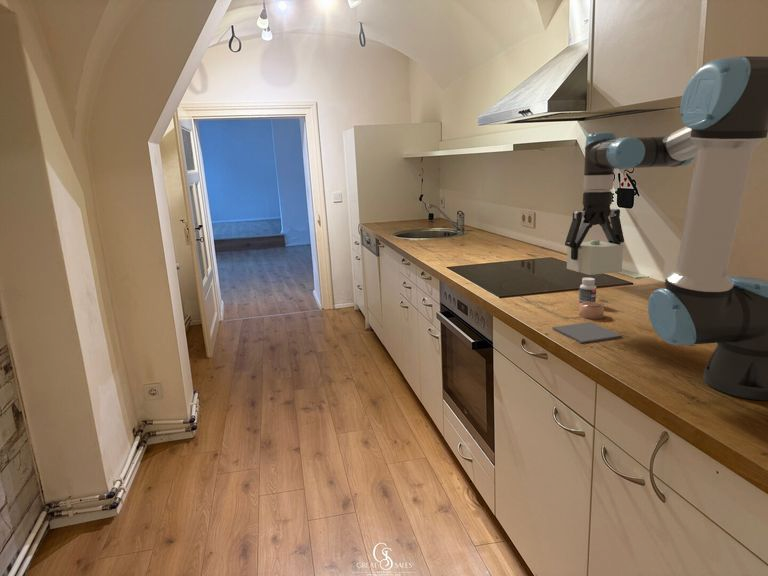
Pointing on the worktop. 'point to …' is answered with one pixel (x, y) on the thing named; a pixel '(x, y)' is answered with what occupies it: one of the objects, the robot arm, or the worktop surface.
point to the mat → (586, 332)
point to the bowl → (591, 310)
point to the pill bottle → (587, 290)
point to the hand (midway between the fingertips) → (593, 269)
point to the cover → (598, 257)
